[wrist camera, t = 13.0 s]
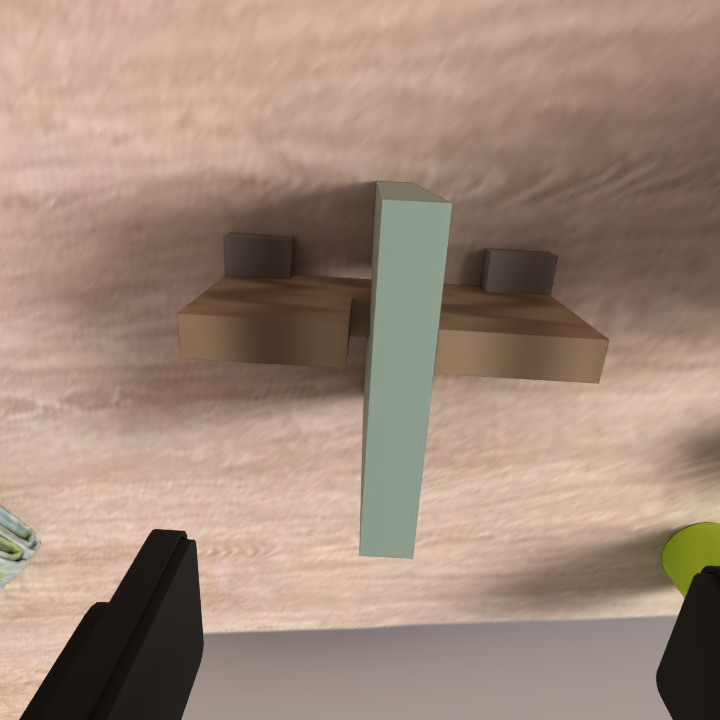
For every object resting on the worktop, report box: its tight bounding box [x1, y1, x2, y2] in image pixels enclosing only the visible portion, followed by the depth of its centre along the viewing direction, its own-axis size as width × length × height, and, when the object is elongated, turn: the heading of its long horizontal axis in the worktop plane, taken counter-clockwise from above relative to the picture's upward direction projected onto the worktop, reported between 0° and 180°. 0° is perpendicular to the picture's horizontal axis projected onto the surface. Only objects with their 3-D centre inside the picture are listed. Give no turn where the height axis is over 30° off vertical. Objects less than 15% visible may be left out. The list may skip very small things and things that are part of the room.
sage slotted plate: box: [359, 181, 452, 559], centre depth 26 cm, size 2×14×16 cm, turn 177°
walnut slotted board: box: [177, 233, 609, 384], centre depth 29 cm, size 20×7×10 cm, turn 87°
